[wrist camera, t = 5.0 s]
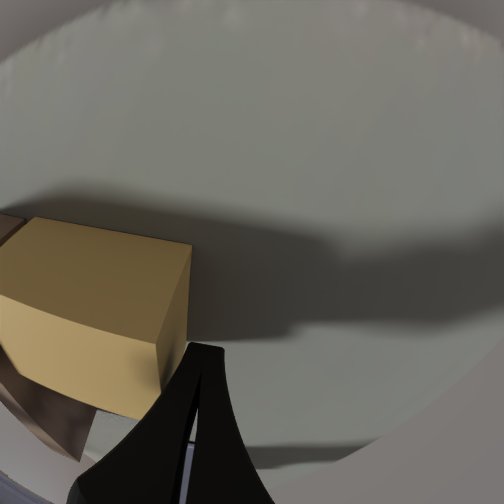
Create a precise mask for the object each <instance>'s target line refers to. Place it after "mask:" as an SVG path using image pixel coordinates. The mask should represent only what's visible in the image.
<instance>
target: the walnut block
mask: <svg viewBox="0 0 504 504" xmlns="http://www.w3.org/2000/svg"><path fill="white" fill-rule="evenodd" d="M25 225H26V222H25V219H24V218H19V217H14V216H8V215H3V214H0V247H1V246H2V245H3V244H4V243H5V242H7V241H8V240H9V239H10V238H11V237H12V236H13V235H14V234H15V233H17V232H18V231H19V230H20V229H21V228H22V227H23V226H25ZM0 401H1V402H2V403H3V404H4V405H5V406H6V408H7V409H8V410H9V411H10V412H11V413H12V414H13V415H14V416H15V417H16V418H17V419H18V420H19V421H20V422H21V423H22V424H23V425H24V426H25V427H26V428H27V429H29V430H30V431H31V432H32V433H33V434H34V435H35V436H36V437H37V438H38V439H40V440H41V441H42V442H43V443H44V444H45V445H46V446H48V447H49V448H50V449H51V450H53V451H55V452H57V453H59V454H61V455H63V456H66V457H68V458H70V459H72V460H75V461H77V462H80V459H81V456H82V453H83V450H84V446H85V443H86V440H87V437H88V434H89V431H90V428H91V425H92V422H93V419H94V417H95V414H96V411H97V410H96V408H95V407H94V406H92V405H89V404H87V403H84V402H81V401H79V400H76V399H74V398H71V397H69V396H66V395H64V394H61V393H59V392H57V391H54V390H52V389H50V388H48V387H45V386H43V385H41V384H39V383H37V382H35V381H33V380H31V379H29V378H27V377H25V376H23V375H21V374H19V373H18V372H17V370H16V369H15V367H14V366H13V364H12V362H11V361H10V359H9V358H8V356H7V355H6V353H5V351H4V350H3V348H2V346H1V345H0Z"/></svg>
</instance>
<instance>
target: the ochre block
mask: <svg viewBox="0 0 504 504" xmlns="http://www.w3.org/2000/svg"><path fill="white" fill-rule="evenodd" d="M191 255H192V245H189V244H183V243H178V242H172V241H166V240H161V239H155V238H150V237H144V236H139V235H133V234H128V233H122V232H116V231H111V230H105V229H100V228H94V227H89V226H83V225H78V224H72V223H67V222H62V221H56V220H51V219H45V218H40V217H34V218H33V219H32V220H31V221H29V222H28V223H27V224H26V225H25V226H23V227H22V228H21V229H20V230H19V231H18V232H17V233H15V234H14V235H13V236H12V237H11V238H10V239H9V240H8V241H7V242H5V243H4V244H3V245H2V246H1V247H0V345H1V346H2V348H3V350H4V351H5V353H6V355H7V356H8V358H9V359H10V361H11V362H12V364H13V366H14V367H15V369H16V370H17V372H18V373H19V374H21V375H23V376H25V377H27V378H29V379H31V380H33V381H35V382H37V383H39V384H41V385H43V386H45V387H48V388H50V389H52V390H54V391H57V392H59V393H61V394H64V395H66V396H69V397H71V398H74V399H76V400H79V401H81V402H84V403H87V404H89V405H92V406H95V407H98V408H101V409H104V410H107V411H110V412H113V413H116V414H119V415H123V416H126V417H129V418H133V419H136V420H141V419H142V418H143V417H144V415H145V414H146V413H147V412H148V410H149V409H150V408H151V406H152V405H153V404H154V402H155V401H156V400H157V398H158V397H159V395H160V394H161V393H162V391H163V390H164V388H165V387H166V385H167V384H168V382H169V380H170V379H171V377H172V376H173V374H174V372H175V371H176V369H177V367H178V365H179V363H180V361H181V360H182V358H183V354H184V350H185V346H186V339H187V316H188V298H189V282H190V268H191Z"/></svg>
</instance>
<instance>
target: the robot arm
mask: <svg viewBox="0 0 504 504" xmlns="http://www.w3.org/2000/svg"><path fill="white" fill-rule="evenodd" d="M224 352H225V350H224V349H223V348H222V347H217V346H212V345H206V344H201V343H195V342H190V343H189V344H188V346H187V349H186V351H185V353H184V356H183V358H182V360H181V361H180V363H179V365H178V367H177V369H176V371H175V372H174V374H173V376H172V377H171V379H170V380H169V382H168V384H167V385H166V387H165V388H164V390H163V391H162V393H161V394H160V395H159V397H158V398H157V400H156V401H155V402H154V404H153V405H152V406H151V408H150V409H149V410H148V412H147V413H146V414H145V415H144V417H143V418H142V419H141V420H140V421H139V422H138V424H137V425H136V426H135V427H134V428H133V429H132V430H131V431H130V432H129V433H128V434H127V436H126V437H125V438H124V439H123V440H122V441H121V442H120V443H119V444H118V445H117V446H115V447H114V448H113V449H112V450H111V451H110V452H109V453H108V454H107V455H105V456H104V457H103V458H102V459H101V460H100V461H98V462H97V463H96V464H95V465H94V466H92V467H91V468H89V469H88V470H87V471H85V472H84V473H83V474H81V475H80V476H79V477H78V478H77V479H76V480H75V482H74V483H73V485H72V487H71V489H70V492H69V495H68V499H67V503H66V504H275V503H274V501H273V500H272V498H271V497H270V495H269V494H268V492H267V490H266V488H265V487H264V485H263V483H262V481H261V480H260V478H259V476H258V474H257V472H256V470H255V468H254V466H253V464H252V462H251V460H250V457H249V455H248V453H247V450H246V448H245V446H244V443H243V440H242V438H241V435H240V432H239V429H238V426H237V423H236V420H235V416H234V413H233V409H232V405H231V401H230V397H229V392H228V387H227V381H226V374H225V362H224ZM197 409H198V418H197V432H196V438H195V444H190V443H189V439H190V435H191V431H192V427H193V424H194V420H195V416H196V412H197ZM0 504H54V503H52V502H50V501H48V500H46V499H44V498H42V497H40V496H38V495H37V494H35V493H33V492H31V491H30V490H28V489H26V488H25V487H23V486H21V485H19V484H18V483H16V482H15V481H13V480H12V479H10V478H9V477H8V475H6V474H5V473H4V472H2V471H1V470H0Z"/></svg>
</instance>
